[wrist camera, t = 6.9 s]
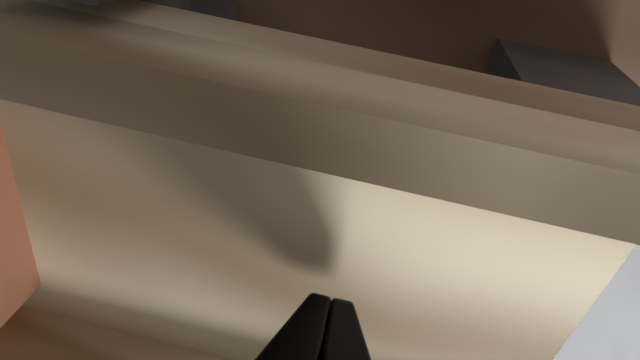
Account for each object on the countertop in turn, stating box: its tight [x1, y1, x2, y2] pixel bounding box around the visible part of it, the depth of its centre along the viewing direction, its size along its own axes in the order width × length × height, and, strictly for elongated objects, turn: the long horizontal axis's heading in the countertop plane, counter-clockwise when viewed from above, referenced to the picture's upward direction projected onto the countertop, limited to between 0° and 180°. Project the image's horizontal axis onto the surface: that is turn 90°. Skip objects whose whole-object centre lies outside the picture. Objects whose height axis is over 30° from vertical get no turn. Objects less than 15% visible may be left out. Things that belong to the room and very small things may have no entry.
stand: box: [67, 0, 640, 106], centre depth 12 cm, size 14×24×8 cm, turn 81°
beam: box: [0, 0, 640, 360], centre depth 10 cm, size 9×20×3 cm, turn 81°
